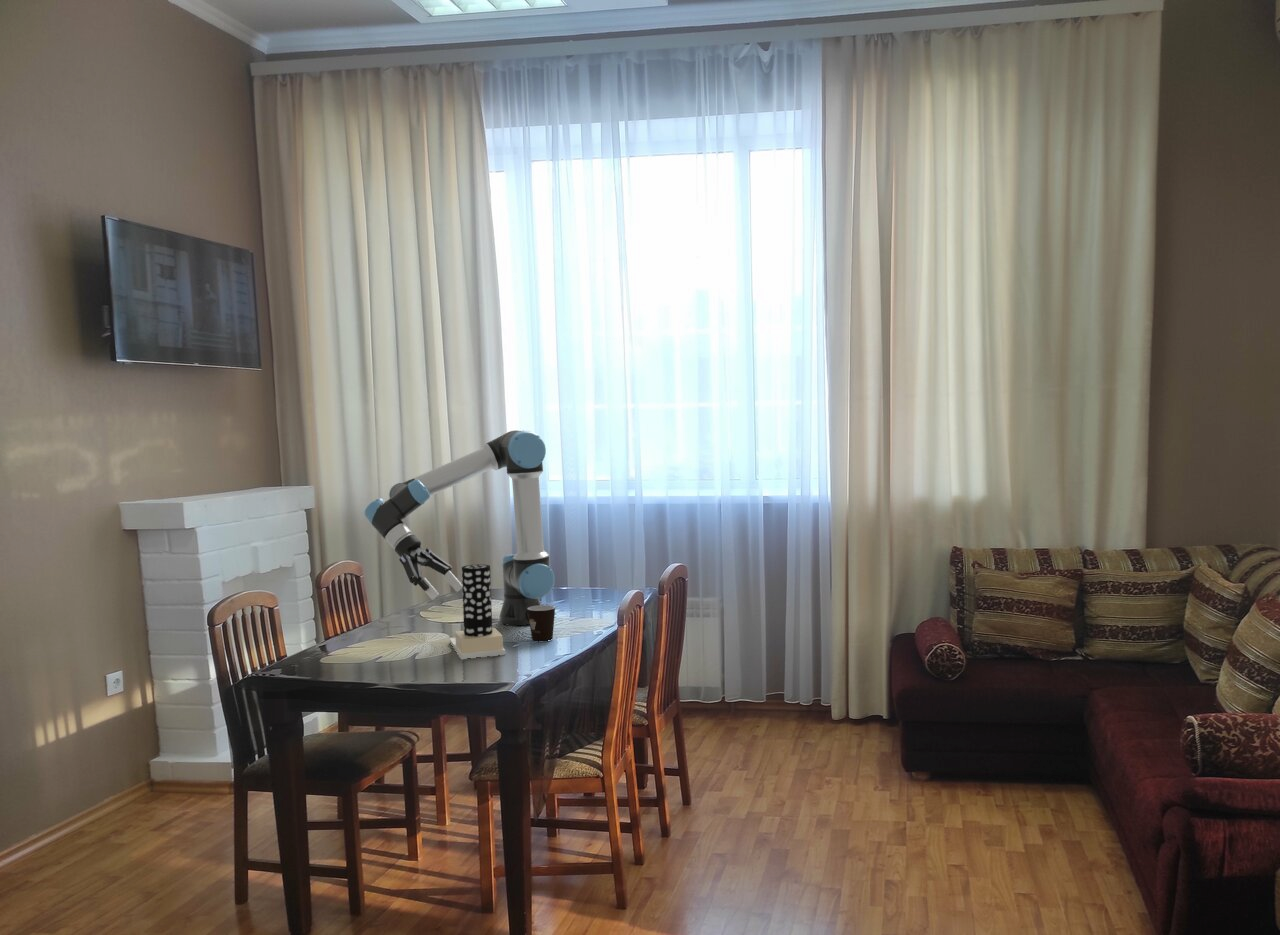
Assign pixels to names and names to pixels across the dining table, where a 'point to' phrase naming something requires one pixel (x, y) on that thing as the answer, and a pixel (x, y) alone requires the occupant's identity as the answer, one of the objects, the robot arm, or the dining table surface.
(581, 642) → the dining table surface
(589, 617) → the dining table surface
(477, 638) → the stand
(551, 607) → the coffee mug
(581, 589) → the dining table surface
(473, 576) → the spotted tube
